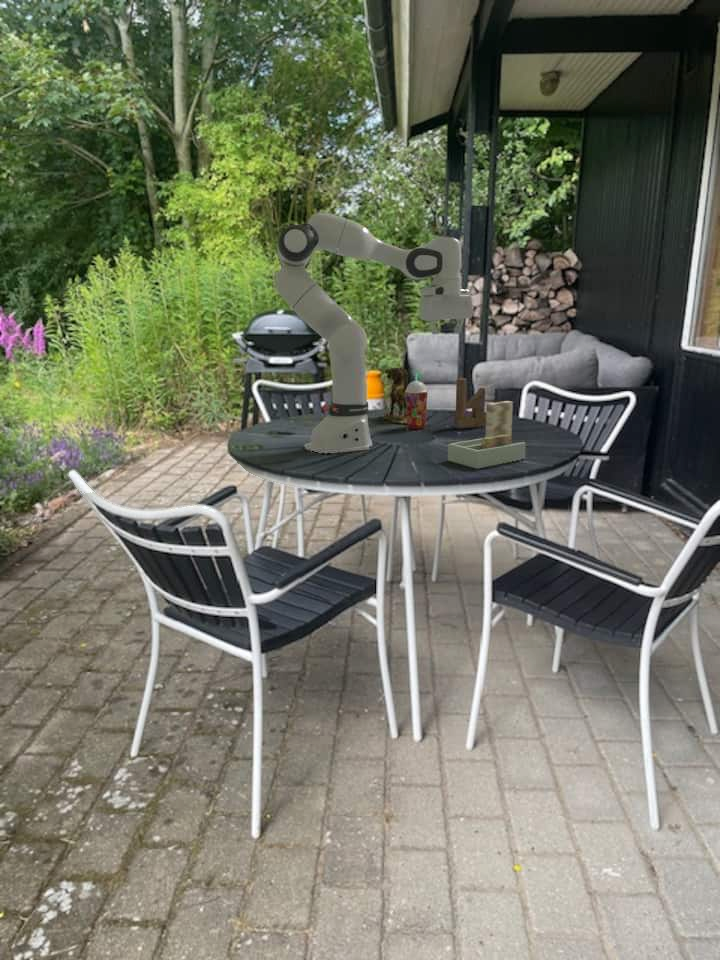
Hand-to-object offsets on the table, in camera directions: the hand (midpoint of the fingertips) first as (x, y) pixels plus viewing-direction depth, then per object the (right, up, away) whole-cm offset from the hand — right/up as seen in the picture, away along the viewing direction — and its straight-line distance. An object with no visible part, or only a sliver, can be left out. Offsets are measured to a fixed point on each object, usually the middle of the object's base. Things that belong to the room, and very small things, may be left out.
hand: (446, 333), depth 227 cm
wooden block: (+12, -28, +31) cm, 43 cm away
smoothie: (-7, -28, +31) cm, 43 cm away
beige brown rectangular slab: (+17, -37, -2) cm, 40 cm away
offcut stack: (+11, -42, -22) cm, 49 cm away
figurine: (-13, -24, +48) cm, 55 cm away
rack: (+10, -41, -20) cm, 47 cm away
